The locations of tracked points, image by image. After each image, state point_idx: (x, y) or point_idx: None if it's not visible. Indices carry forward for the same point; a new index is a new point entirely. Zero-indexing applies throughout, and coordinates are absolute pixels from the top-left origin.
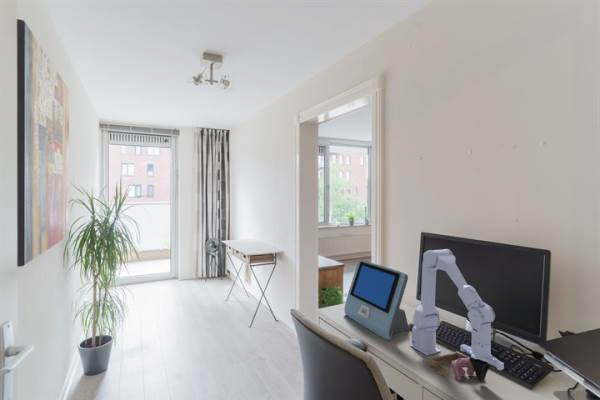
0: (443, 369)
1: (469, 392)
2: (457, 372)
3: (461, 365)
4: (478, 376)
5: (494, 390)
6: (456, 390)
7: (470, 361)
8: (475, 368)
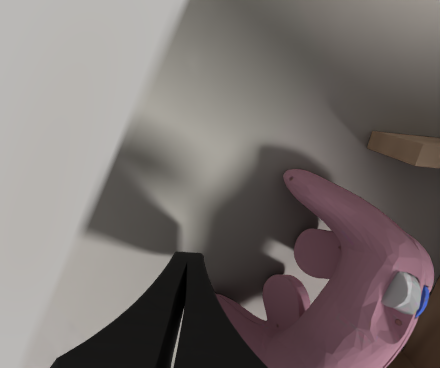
0: (437, 143)
1: (166, 103)
2: (326, 195)
3: (342, 282)
4: (180, 268)
5: (111, 260)
6: (232, 32)
7: (256, 361)
8: (199, 312)
